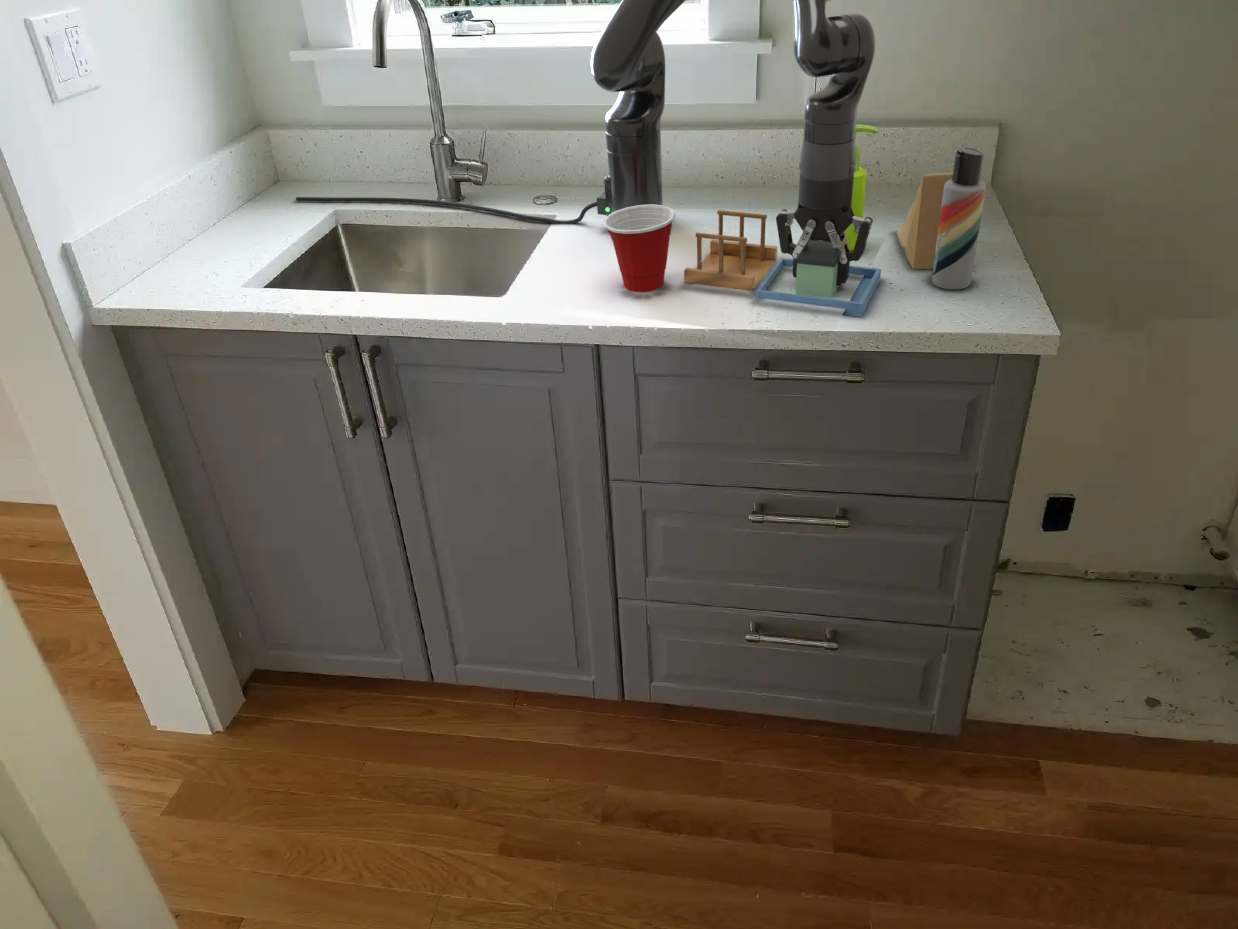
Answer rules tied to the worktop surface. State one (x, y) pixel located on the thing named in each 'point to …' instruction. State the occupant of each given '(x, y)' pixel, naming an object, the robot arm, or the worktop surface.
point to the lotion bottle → (959, 222)
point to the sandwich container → (923, 221)
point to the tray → (851, 307)
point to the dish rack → (732, 257)
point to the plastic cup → (641, 244)
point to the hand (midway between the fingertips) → (819, 281)
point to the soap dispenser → (858, 188)
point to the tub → (817, 270)
